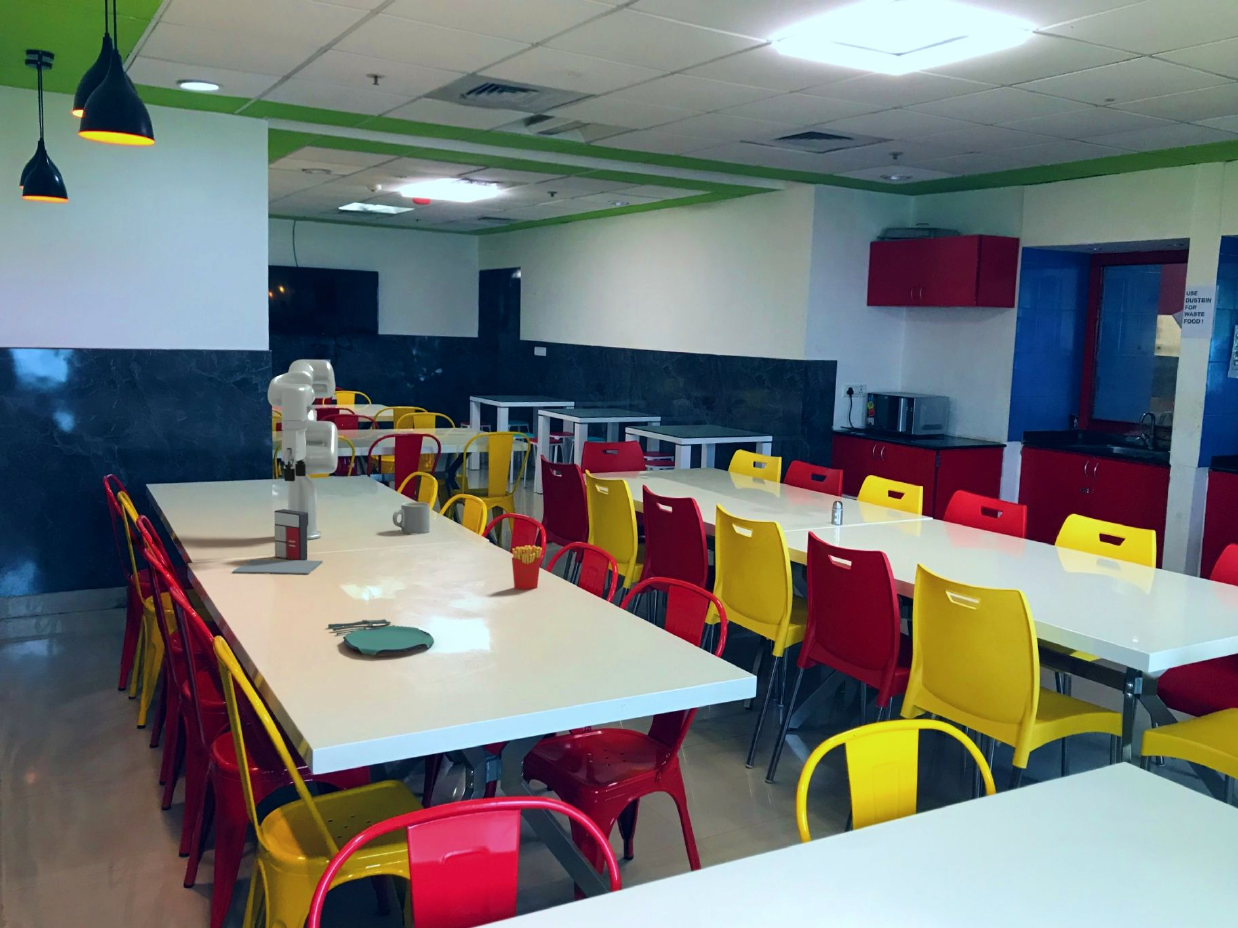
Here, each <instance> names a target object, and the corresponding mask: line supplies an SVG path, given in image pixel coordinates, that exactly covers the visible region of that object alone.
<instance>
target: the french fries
mask: <svg viewBox="0 0 1238 928" xmlns="http://www.w3.org/2000/svg"><path fill="white" fill-rule="evenodd" d="M542 553H543V548H542V547H540V546H536V545H534V544H533V545H532V546H531V545H530V544H529V545H524V546H516V547H515V548H512V555H513V556H512V557H511V564H512V574H513V576H512V577H513V588H514V589H515V590H521V591H522V590H535V589H537V588H538V584H539V576H540V565H541V555H542Z"/></svg>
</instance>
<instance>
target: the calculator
mask: <svg viewBox="0 0 1238 928" xmlns="http://www.w3.org/2000/svg"><path fill="white" fill-rule="evenodd" d="M307 526H308V513H307V512H301V511H293V510H288V509H284V508H282V509H277V510H274V556H275V558H278V559H283V558H284V559H283V560H307V561H308V539H307Z"/></svg>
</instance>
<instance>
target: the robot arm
mask: <svg viewBox="0 0 1238 928" xmlns="http://www.w3.org/2000/svg"><path fill="white" fill-rule="evenodd" d="M335 392H336V381H335V372H334V369H333V366H332V364H331V363H330V362H329V361H328V360H325V359H297V360H294V361H293V362H292V363H291V364H290V366H289V369H288V372H286V373H283V374H280V375H278V376H275V377H274V378H272V379H271V381H270V383H269V385H268V389H267V399H268V403H269V404H270V405H271V406H272V407H276V408H278V407H279V408H281V430H282V436H281V461H282V462H283V471H284V473H283V474H284V481H285V482H287V510H293V511H301V512H307V513H308V526H307V540H314V539H318V538H321V537H322V535H323V534H322V531H320V530H318V515H317V514H318V512H317V511H318V508H317V507H318V506H317V505H318V504H317V503H318V501H317V500H318V499H317V498H318V497H317V494H318V493H317V490H318V489H317V485H316V483H315V481H314V480H313V479H312V478H311V477H310V476H309V475H312V474H315V475H317V474H318V475H319V474H326V475H327V474H332V473H335V471H336V470H337V467H338V461H339V459H338V455H339V454H338V453H339V449H338V448H339V432H338V428H337V425H336V424H335V423H334V422H332V421H328V420H327V421H326V420H317V411H316V409H315V407H314V406H313V402H315V399H330V398H332V397H333V396H334V395H335Z"/></svg>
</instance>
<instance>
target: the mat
mask: <svg viewBox="0 0 1238 928" xmlns="http://www.w3.org/2000/svg"><path fill="white" fill-rule="evenodd" d="M321 564H323V560H308V559H307V560H289V559H257V558H256V559H250V560H248V561H246V562H245V563H243V564H242V565H240V566H239V567H237V568H236V569H234V570H232V574H256V573H270V574H271V575H272V573H273V575H310V574H311V573H312V572H313V571H314V570H315V569H316V568H318V567H319V566H320V565H321ZM311 571H312V572H311ZM270 574H269V575H270Z"/></svg>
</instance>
